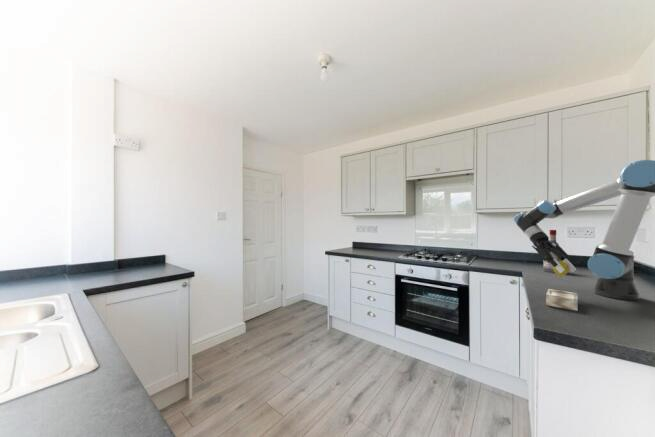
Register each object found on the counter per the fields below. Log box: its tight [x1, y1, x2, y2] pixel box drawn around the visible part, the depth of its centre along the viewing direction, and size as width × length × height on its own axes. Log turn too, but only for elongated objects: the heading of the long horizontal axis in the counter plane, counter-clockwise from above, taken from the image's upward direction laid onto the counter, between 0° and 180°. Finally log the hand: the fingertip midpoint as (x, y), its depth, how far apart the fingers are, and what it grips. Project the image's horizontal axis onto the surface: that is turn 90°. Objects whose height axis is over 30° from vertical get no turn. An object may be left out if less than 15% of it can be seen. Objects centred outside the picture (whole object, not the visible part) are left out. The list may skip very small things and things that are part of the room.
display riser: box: [545, 288, 579, 312], centre depth 114 cm, size 10×12×5 cm
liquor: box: [542, 229, 562, 274], centre depth 182 cm, size 9×9×30 cm
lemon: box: [553, 261, 569, 277], centre depth 128 cm, size 6×6×8 cm
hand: (568, 271), depth 124 cm, fingers closed on lemon, 5 cm apart
